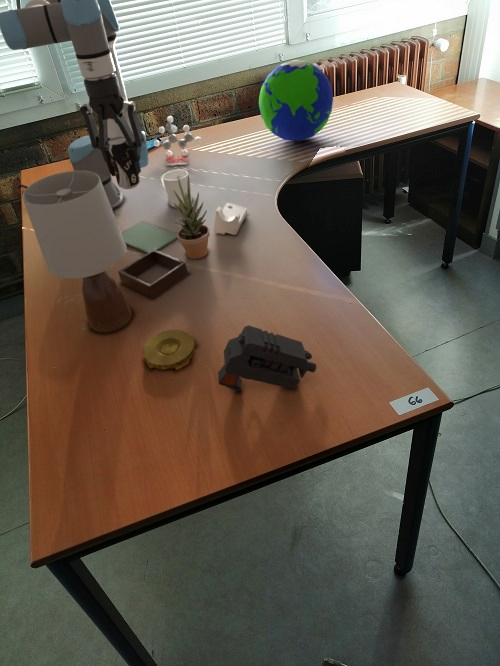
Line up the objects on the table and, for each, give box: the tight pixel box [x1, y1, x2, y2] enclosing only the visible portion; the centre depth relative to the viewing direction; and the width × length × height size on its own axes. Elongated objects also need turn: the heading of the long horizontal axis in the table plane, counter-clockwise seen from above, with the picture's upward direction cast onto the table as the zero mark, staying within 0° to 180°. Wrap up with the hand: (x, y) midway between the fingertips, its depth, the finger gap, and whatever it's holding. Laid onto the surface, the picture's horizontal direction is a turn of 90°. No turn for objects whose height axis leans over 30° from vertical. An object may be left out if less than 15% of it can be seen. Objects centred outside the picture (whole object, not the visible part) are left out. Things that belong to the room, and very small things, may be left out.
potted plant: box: [173, 174, 211, 260], centre depth 143 cm, size 10×10×25 cm
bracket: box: [213, 202, 248, 236], centre depth 160 cm, size 13×7×8 cm, turn 165°
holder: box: [117, 250, 189, 300], centre depth 142 cm, size 14×14×4 cm
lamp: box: [22, 170, 132, 334], centre depth 119 cm, size 19×19×37 cm
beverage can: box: [108, 136, 141, 190], centre depth 127 cm, size 6×6×12 cm
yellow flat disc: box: [142, 329, 196, 371], centre depth 118 cm, size 12×12×2 cm
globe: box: [258, 59, 334, 142], centre depth 202 cm, size 30×30×30 cm
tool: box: [217, 324, 317, 392], centre depth 105 cm, size 6×19×15 cm, turn 95°
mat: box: [121, 221, 178, 254], centre depth 161 cm, size 18×12×1 cm, turn 50°
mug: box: [159, 168, 193, 209], centre depth 175 cm, size 11×9×10 cm
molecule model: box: [153, 115, 202, 167], centre depth 204 cm, size 20×16×16 cm
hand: (126, 173), depth 129 cm, fingers closed on beverage can, 6 cm apart
